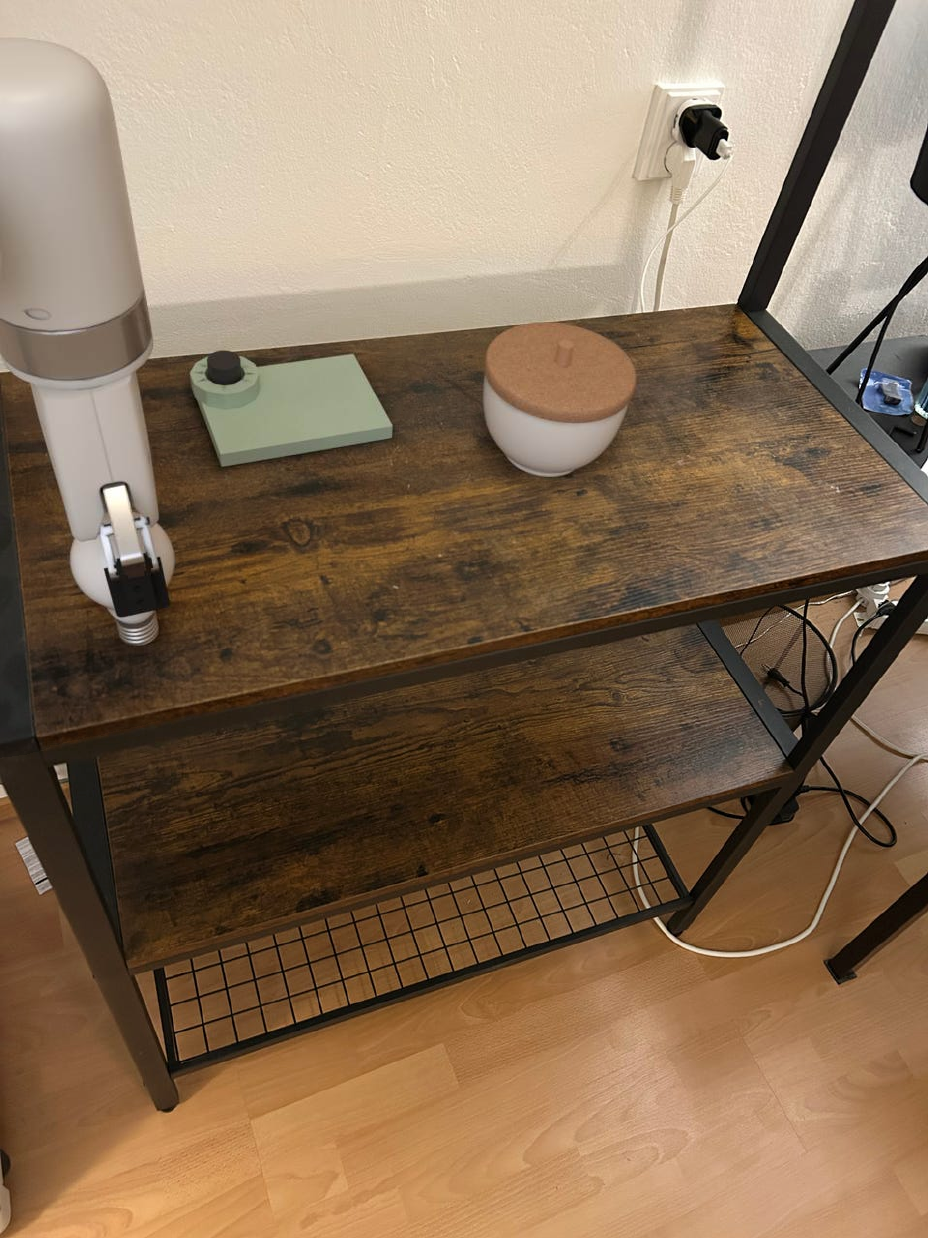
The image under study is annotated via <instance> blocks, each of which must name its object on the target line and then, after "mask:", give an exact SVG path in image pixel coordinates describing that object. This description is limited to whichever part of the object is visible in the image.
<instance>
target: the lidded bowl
mask: <svg viewBox="0 0 928 1238" xmlns="http://www.w3.org/2000/svg"><path fill="white" fill-rule="evenodd" d="M483 368H484V375H483V385H482V408H483V415H484V421H485V424H486V427H487V430H488V432H489V434H490V437H491V438H492V440H493V442H494V443H495V445H496V446H497V448H499V449H500V451H501V452H502V453H503V454H504V455H505V456H506V457H505V458H507V459H508V461H509V462H510V463H511V464H512V465H513V466H515V467H516V468H518V469H520V470H521V471H523V472H525V473H527V474H530V475H534V476H538V477H546V478H554V477H555V478H556V477H562V476H565V475H569V474H571V473H572V472H575V470H578V469H581V468H582V467H584V466H587V465H588V464H590V463H592V462H593V461H595V459H597V458H598V457H600V456H601V455H602V454H603V453H604V452H605V450H607V448H608V447H609V446H610V445H611V444H612V442H613V440H614V439H615V437H616V435H617V434H618V432H619V430H620V427H621V426H622V424H623V421H624V419H625V416H626V413H627V411H628V409H629V408H628V407H629V403H630V402H631V400H632V398H633V396H634V394H635V390H636V385H637V381H638V379H637V372H636V369H635V365H634V364H633V362H632V360H631V358H630V357H629V356H628V354H627V353H626V352H625V351H624V350H623V349H622V348H621V347H620V346H619V345H617V344H616V343H614V341H612V340H610V339H609V338H607V337H605V336H603V335H602V334H600V333H597V332H595V331H592V330H589V329H587V328H585V327H584V328H583V327H581V326H577V325H573V324H569V323H568V324H567V323H561V322H550V321H540V322H539V321H538V322H537V321H536V322H529V323H525V324H524V323H523V324H519V325H515V326H513V327H511V328H508V329H506V330H504V331H502V332H501V333H500V334H498V335H497V336H496V337H495V338H493V340H491V342H490V343H489V345H488V346H487V349H486V353H485V358H484V367H483Z"/></svg>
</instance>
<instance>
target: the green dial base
mask: <svg viewBox="0 0 928 1238" xmlns="http://www.w3.org/2000/svg"><path fill="white" fill-rule="evenodd" d="M238 356H239V357H240V361H241V375H242V378H241V380H240V381H239V382H237V383H235V384H231V385H219V384H214V383H212V382H211V381H210V380H209V376H208V367H207V358H208V356H205V357H204V358H202V359H200V360H198V361H196V362H195V363H194V365H193V367H192V369H191V370H190V372H189V377H190V385H191V390H192V393H193V395H194V398H195V399H196V401H197V404H198V406H199V409H200V412H201V414H202V417H203V420H204V422H205V426H206V428H207V431H208V434H209V437H210V439H211V441H212V444H213V447H214V450H215V452H216V455H217V459H218V461H219V463H220V467H222V468H224V467H229V466H235V465H241V464H248V463H253V462H259V461H265V460H271V459H277V458H283V457H288V456H294V455H295V456H296V455H300V454H306V453H312V452H317V451H318V452H319V451H324V450H330V449H336V448H341V447H348V446H352V445H360V444H366V443H372V442H377V441H384V440H388V439H392V438H393V429H394V427H393V426H394V425H393V424H392V422H391V420H390V418H389V416H388V414H387V413H386V411H385V409H384V407H383V406H382V403H381V402H380V400H379V398H378V396H377V394H376V393H375V391H374V389H373V387H372V385H371V384H370V381H369V380H368V377H367V376H366V374H365V373H364V371H363V369H362V367H361V365H360V363H359V361H358V359H357V358H356V356H355V354H354V353H350V354H343V355H342V354H341V355H335V356H328V357H321V358H314V359H305V360H299V361H292V362H285V363H277V364H269V365H262V366H257V365H256V364H255V362H252V361H251V360H249V359H248V358H246V357H245V356H241V355H238Z"/></svg>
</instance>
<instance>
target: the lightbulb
mask: <svg viewBox="0 0 928 1238" xmlns="http://www.w3.org/2000/svg"><path fill="white" fill-rule="evenodd" d="M132 513H133V517H134V519H135V518H140V517H139V513H138V511H135V510H132ZM110 523H111V521H110V517H109V513H108V511H105V514H104V518H103V524H104V525H105V524H110ZM149 528H150V532H151V537H152V541H153V545H154V549H155V553H156V557H160V558H161V562H162V567H163V571H164V576H165V581H166V586H167V587H168V586H169V584H170V583H171V580H172V578H173V574H174V572H175V571H174V570H175V565H176V558H175V557H176V556H175V550H174V547H173V546H174V545H173V543H172V541H171V538H170V536H169V535H168V533H167V532H166V531H165V530H164V528H163V527H162V526H161V525H160V524H159V523H158V522H157V523H156V524H155V525H154V526H153V527H152V528H151V527H150V525H149ZM137 532H138V536H139V540H140V544H141V548H142V552H143V553H145V549H144V545H143V540H142V536H141V532H140V530H137ZM110 540H111V544H112V548H113V552H114V556H115V560H116V559H118V558H120V557H119V553H118V549H117V545H116V541H115V537H114V535H110ZM70 546H71V547H70V550H69V567H70V570H71V574H72V577H73V579H74V581H75V583H76V585H77V586H78V588H79V589H80V590H81V591H82V592H83V594H84V595H86V596H87V597H88V598H89V599H90V600H92V601H93V602H95V603H97V604H99V605H101V606H103V607H105V608H106V609H107V611H108V612H109V614H110V615H111V616H112V617H113V618H114V620H115V624H116V628H117V632H118V637H119V639H120V640H121V641H122V642H123V643H125V644H126V645H129V646H132V647H139V646H141V647H142V646H145V645H148V644H150V643H151V642H153V641H154V640H155V639H156V638H157V637H158V635H159V631H160V627H159V621H158V616H157V610H155V611H151V612H146V613H142V614H137V615H133V616H128V617H124V618H120V617H118V616H117V615H116V612H115V609H114V605H113V601H112V598H111V594H110V590H109V587H108V583H107V580H106V576H105V572H104V568H108V567H107V563H106V559H105V555H104V551H103V547H102V543H101V539H100V536H99V534H98V536H97V538H96V539H94V540H87V541H85V542H81V541H79V540H77V539H76V538H74V537H73V540H72V543H71V545H70ZM116 562H117V561H116Z"/></svg>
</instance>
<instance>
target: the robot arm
mask: <svg viewBox="0 0 928 1238" xmlns="http://www.w3.org/2000/svg"><path fill="white" fill-rule="evenodd" d="M112 102H113V101H112V98H111V94H110V90H109V88H108V85H107V83H106V82H105V80H104V78H103V76H102V74H101V73H100V71H99V70H98V68H97V67H96V66H95V65H94V64H93V63H92V62H91V61H90V60H88V58H86V57H85V56H84V55H82V54H80V53H79V52H77V51H76V50H73V49H71V48H70V47H68V46H64V45H62V44H58V43H55V42H51V41H47V40H40V39H33V38H23V37H0V357H1V360H2V363H3V365H4V366H5V367H6V369H7V370H9V371H10V373H11V374H12V375H14V376H15V377H17V378H19V380H22V381H24V382H26V383H29V384H30V388H31V393H32V397H33V401H34V405H35V410H36V413H37V417H38V420H39V424H40V427H41V431H42V435H43V438H44V442H45V445H46V448H47V452H48V455H49V458H50V463H51V465H52V469H53V471H54V475H55V479H56V482H57V486H58V489H59V493H60V497H61V499H62V503H63V507H64V510H65V514H66V518H67V521H68V525H69V528H70V533H71V535H72V537H73V539H74V538H76V539H77V540H79V541H81V542H85V541H87V540H94V539H96V538H97V536H98V534H99V536H100V539H101V543H102V547H103V551H104V555H105V559H106V563H107V567H108V568H104V572H105V576H106V580H107V583H108V587H109V590H110V594H111V598H112V601H113V605H114V609H115V612H116V615H117V616H118V617H120V618H124V617H128V616H133V615H137V614H142V613H146V612H151V611H159V610H163V609H167V608H168V607H169V606H170V605H171V600H170V597H169V596H170V595H169V592H168V586H166V581H165V576H164V571H163V567H162V562H161V558H160V557H156V553H155V549H154V545H153V541H152V537H151V532H150V528H149V525H150V527H151V528H152V527H153V526H154V525H155V524H156V523H158V521H159V520H160V514H159V506H158V499H157V498H158V497H157V489H156V481H155V474H154V468H153V461H152V455H151V454H152V453H151V447H150V442H149V436H148V429H147V424H146V419H145V414H144V408H143V403H142V397H141V391H140V385H139V381H138V375H137V371H138V370H139V369H140V368H141V367H142V366H143V365H144V364H145V363H146V362H147V360H148V359H149V358H150V357H151V355H152V351H153V348H154V336H153V330H152V326H151V324H152V323H151V319H150V318H151V317H150V312H149V306H148V301H147V295H146V290H145V283H144V280H143V274H142V273H143V272H142V266H141V262H140V256H139V255H140V254H139V250H138V244H137V238H136V233H135V227H134V226H135V225H134V221H133V215H132V209H131V203H130V197H129V192H128V186H127V180H126V173H125V169H124V162H123V156H122V150H121V144H120V140H119V139H120V138H119V133H118V128H117V123H116V116H115V111H114V107H113V103H112ZM132 507H133V508H134V509H135V510H136V512H138V513H139V517H140V518H135V519H134V517H133V513H132V511H133V510H132ZM105 512H108V513H109V517H110V521H111V523H110V524H105V525H104V524H103V518H104V514H105ZM137 530H140V532H141V536H142V540H143V545H144V549H145V553H143V552H142V548H141V544H140V540H139V536H138V532H137ZM110 535H114V537H115V541H116V545H117V549H118V553H119V557H120V558H118V559H116V560H115V556H114V552H113V548H112V544H111V540H110ZM116 561H117V562H116Z"/></svg>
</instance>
